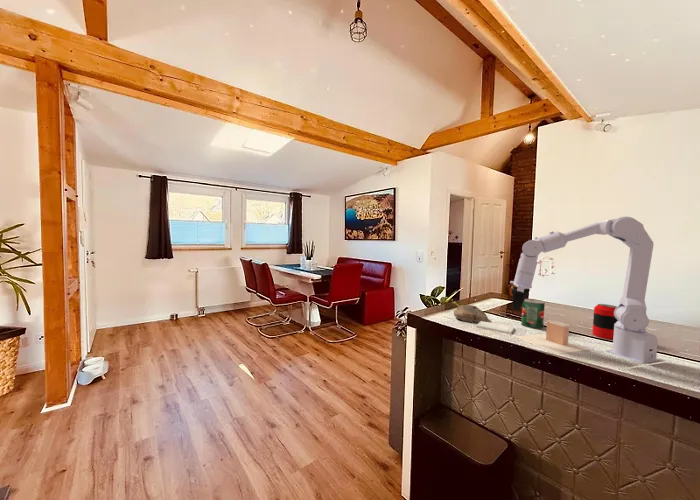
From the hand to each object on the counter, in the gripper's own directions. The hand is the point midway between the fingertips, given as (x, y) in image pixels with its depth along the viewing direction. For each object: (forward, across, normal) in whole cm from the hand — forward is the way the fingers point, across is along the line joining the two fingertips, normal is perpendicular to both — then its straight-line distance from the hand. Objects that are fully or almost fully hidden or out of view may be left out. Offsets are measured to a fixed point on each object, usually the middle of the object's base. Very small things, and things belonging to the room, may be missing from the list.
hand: (516, 307), depth 108 cm
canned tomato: (+10, -18, +7) cm, 21 cm away
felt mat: (+9, +3, +12) cm, 15 cm away
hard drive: (+12, -4, -5) cm, 14 cm away
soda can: (+6, -22, +30) cm, 38 cm away
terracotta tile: (+8, 0, +14) cm, 16 cm away
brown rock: (+14, -17, -17) cm, 27 cm away
